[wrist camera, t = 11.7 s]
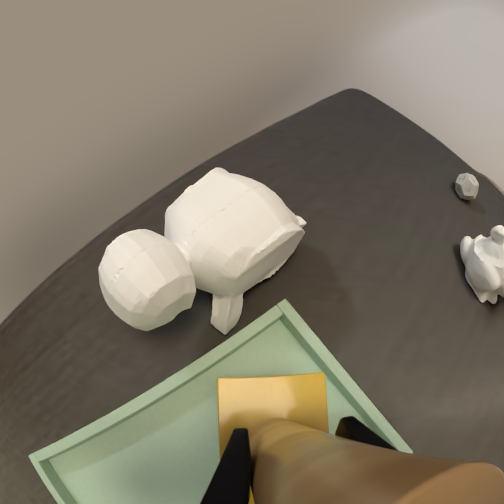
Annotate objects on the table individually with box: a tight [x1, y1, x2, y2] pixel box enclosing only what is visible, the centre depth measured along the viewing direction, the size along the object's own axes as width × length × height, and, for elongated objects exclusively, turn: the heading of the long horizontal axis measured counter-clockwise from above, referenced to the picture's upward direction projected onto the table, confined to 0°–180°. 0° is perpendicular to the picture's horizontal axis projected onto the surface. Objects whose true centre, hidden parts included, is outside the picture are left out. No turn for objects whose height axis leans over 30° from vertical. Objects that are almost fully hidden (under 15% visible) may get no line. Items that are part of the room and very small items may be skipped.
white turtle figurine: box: [98, 167, 306, 335], centre depth 19 cm, size 9×8×15 cm
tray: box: [29, 299, 413, 504], centre depth 14 cm, size 24×16×2 cm, turn 127°
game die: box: [455, 173, 479, 200], centre depth 29 cm, size 4×4×3 cm
